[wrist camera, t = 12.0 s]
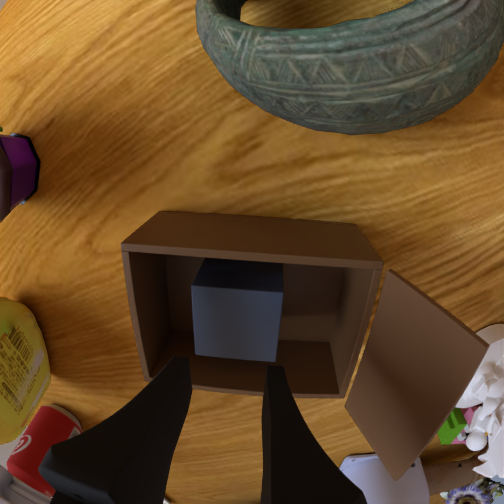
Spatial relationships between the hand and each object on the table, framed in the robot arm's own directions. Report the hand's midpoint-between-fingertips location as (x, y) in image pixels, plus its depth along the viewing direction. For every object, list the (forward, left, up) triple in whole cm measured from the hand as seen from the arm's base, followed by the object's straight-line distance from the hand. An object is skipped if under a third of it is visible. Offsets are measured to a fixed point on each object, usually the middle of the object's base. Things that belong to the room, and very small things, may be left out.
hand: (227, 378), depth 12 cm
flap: (-7, 0, 0) cm, 7 cm away
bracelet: (-4, -17, -9) cm, 20 cm away
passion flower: (-37, +34, -8) cm, 52 cm away
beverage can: (+22, +22, -9) cm, 32 cm away
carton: (0, 0, -8) cm, 8 cm away
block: (0, 0, -8) cm, 8 cm away
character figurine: (-22, +6, -8) cm, 24 cm away
